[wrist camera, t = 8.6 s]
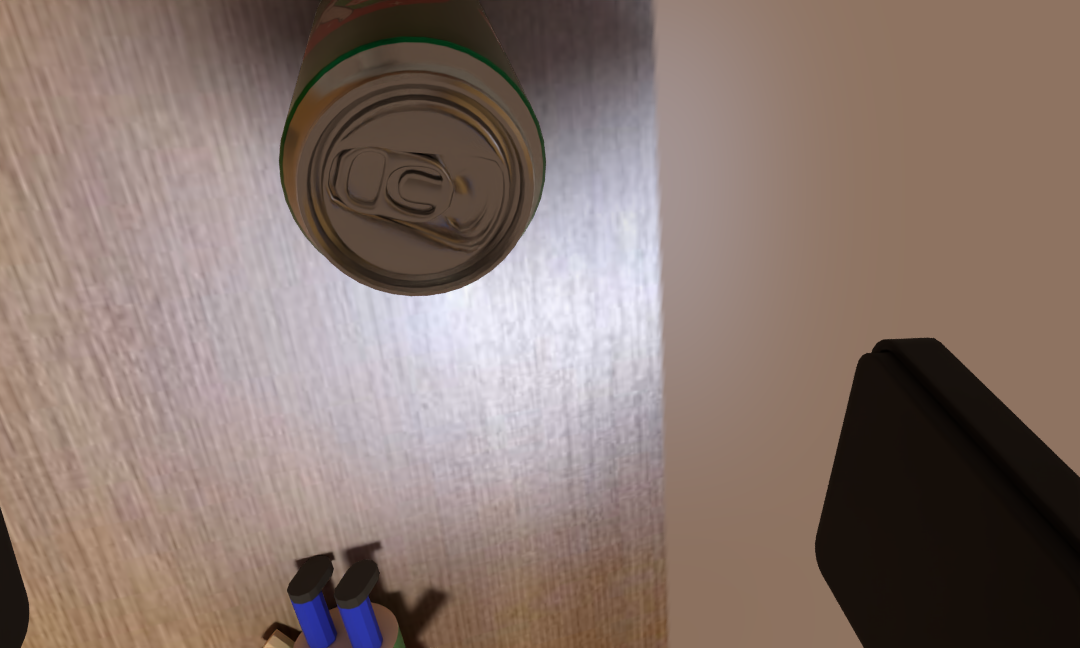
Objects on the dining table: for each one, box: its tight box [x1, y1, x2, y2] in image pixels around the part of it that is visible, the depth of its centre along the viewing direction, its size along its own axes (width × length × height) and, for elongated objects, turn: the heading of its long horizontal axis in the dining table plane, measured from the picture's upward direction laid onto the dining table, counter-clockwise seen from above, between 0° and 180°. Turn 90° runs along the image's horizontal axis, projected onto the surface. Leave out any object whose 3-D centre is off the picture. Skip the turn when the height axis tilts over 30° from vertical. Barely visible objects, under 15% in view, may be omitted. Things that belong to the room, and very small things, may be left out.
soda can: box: [279, 0, 546, 296], centre depth 22 cm, size 5×5×12 cm
